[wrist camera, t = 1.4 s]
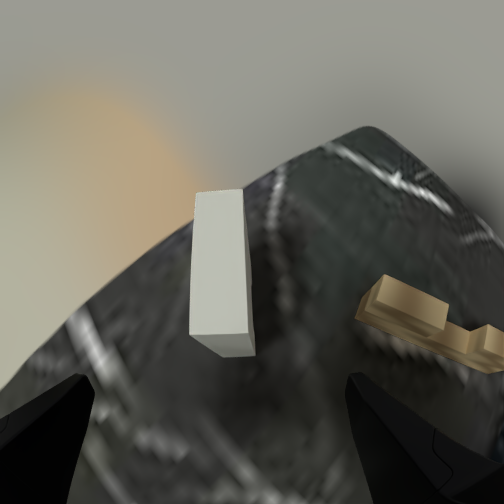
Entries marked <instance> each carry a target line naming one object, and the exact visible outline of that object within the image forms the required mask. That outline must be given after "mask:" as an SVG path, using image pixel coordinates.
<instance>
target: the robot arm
mask: <svg viewBox="0 0 504 504" xmlns="http://www.w3.org/2000/svg"><path fill="white" fill-rule="evenodd" d="M94 397H95V392H94V389H93V387H92V385H91V383H90V381H89V379H88V377H87V376H86V375H84V374H79V373H75V374H74V375H72V376H70V377H69V378H67V379H65V380H64V381H62V382H61V383H59V384H57V385H56V386H54V387H52V388H51V389H49V390H48V391H46V392H44V393H43V394H41V395H39V396H38V397H36V398H34V399H33V400H31V401H29V402H28V403H26V404H25V405H23V406H21V407H20V408H18V409H16V410H15V411H13V412H11V413H10V414H8V415H6V416H5V417H3V418H1V419H0V504H66V503H67V499H68V494H69V490H70V486H71V482H72V478H73V475H74V471H75V467H76V464H77V460H78V457H79V454H80V450H81V447H82V444H83V441H84V437H85V434H86V431H87V427H88V423H89V419H90V414H91V410H92V405H93V401H94ZM345 398H346V403H347V408H348V413H349V418H350V424H351V429H352V434H353V438H354V441H355V444H356V448H357V451H358V454H359V457H360V460H361V463H362V467H363V470H364V473H365V476H366V480H367V483H368V486H369V490H370V493H371V496H372V500H373V503H374V504H504V464H502V463H497V462H495V461H492V460H490V459H488V458H486V457H484V456H482V455H480V454H478V453H476V452H474V451H472V450H470V449H468V448H467V447H465V446H463V445H461V444H460V443H458V442H456V441H454V440H453V439H451V438H450V437H448V436H447V435H445V434H444V433H443V432H441V431H440V430H438V429H437V428H435V429H434V426H433V425H431V424H430V423H429V422H427V421H426V420H424V419H423V418H422V417H420V416H419V415H418V414H416V413H415V412H414V411H412V410H411V409H410V408H408V407H407V406H406V405H404V404H403V403H401V402H400V401H399V400H397V399H396V398H395V397H394V396H392V395H391V394H390V393H388V392H387V391H386V390H384V389H383V388H382V387H380V386H379V385H378V384H376V383H375V382H374V381H372V380H371V379H370V378H369V377H367V376H366V375H365V374H363V373H361V372H358V373H352V374H350V375H349V376H348V380H347V385H346V390H345Z"/></svg>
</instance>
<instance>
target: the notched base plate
mask: <svg viewBox="0 0 504 504" xmlns="http://www.w3.org/2000/svg"><path fill="white" fill-rule="evenodd" d="M448 307H449V304H447V303H445V302H443V301H441V300H438V299H436V298H434V297H432V296H430V295H428V294H426V293H424V292H422V291H420V290H418V289H415V288H413V287H411V286H409V285H407V284H405V283H403V282H401V281H398V280H396V279H394V278H392V277H390V276H388V275H385V274H384V275H383V276H382V277H381V278H380V279H379V280H378V281H377V282H376V284H375V285H374V286H373V287H372V288H371V289H370V290H369V291H368V292H367V293H366V294H365V295H364V296H363V297H362V299H361V302H360V305H359V307H358V310H357V313H356V316H355V318H354V319H357V320H359V321H361V322H364V323H366V324H368V325H370V326H373V327H375V328H377V329H380V330H382V331H384V332H387V333H389V334H391V335H394V336H396V337H398V338H401V339H403V340H406V341H408V342H410V343H413V344H415V345H417V346H420V347H422V348H425V349H427V350H429V351H432V352H434V353H437V354H439V355H442V356H444V357H446V358H449V359H451V360H454V361H456V362H459V363H461V364H464V365H466V366H469V367H471V368H474V369H476V370H479V371H481V372H484V373H486V374H489V373H494V372H498V371H503V370H504V332H502V331H500V330H498V329H496V328H494V327H492V326H490V325H489V324H487V325H485V326H483V327H480V328H478V329H476V330H473V331H471V332H469V331H467V330H465V329H463V328H461V327H459V326H457V325H455V324H452V323H450V322H448V321H446V317H447V312H448Z"/></svg>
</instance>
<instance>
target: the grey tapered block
mask: <svg viewBox="0 0 504 504" xmlns="http://www.w3.org/2000/svg"><path fill="white" fill-rule="evenodd" d="M251 285H252V274H251V261H250V252H249V243H248V234H247V225H246V216H245V208H244V199H243V190H242V189H234V190H221V191H210V192H199V193H196V200H195V214H194V227H193V243H192V261H191V285H190V331H189V335H190V336H192V337H193V338H195V339H196V340H198V341H199V342H201V343H202V344H204V345H205V346H206V347H208V348H209V349H211V350H212V351H214V352H215V353H217V354H219V355H220V356H222V357H246V356H256V352H255V334H254V329H253V315H252V294H251Z"/></svg>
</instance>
